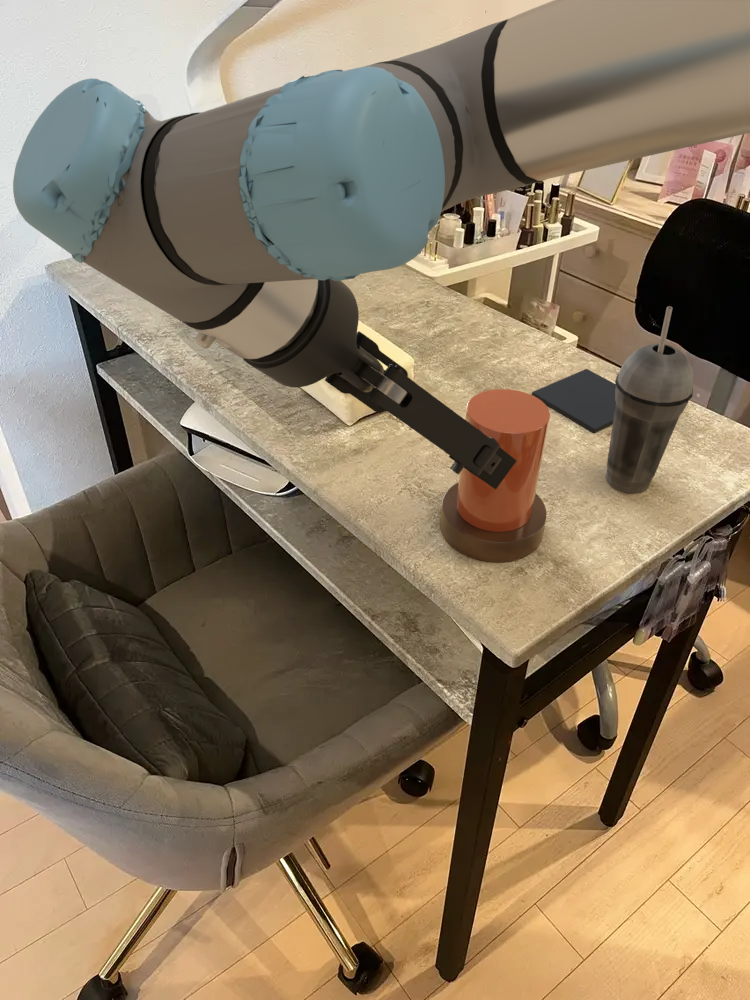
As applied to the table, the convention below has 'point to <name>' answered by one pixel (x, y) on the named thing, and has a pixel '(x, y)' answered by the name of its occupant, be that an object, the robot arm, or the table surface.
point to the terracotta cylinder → (523, 437)
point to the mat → (582, 399)
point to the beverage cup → (646, 411)
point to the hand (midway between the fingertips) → (444, 432)
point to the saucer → (490, 533)
